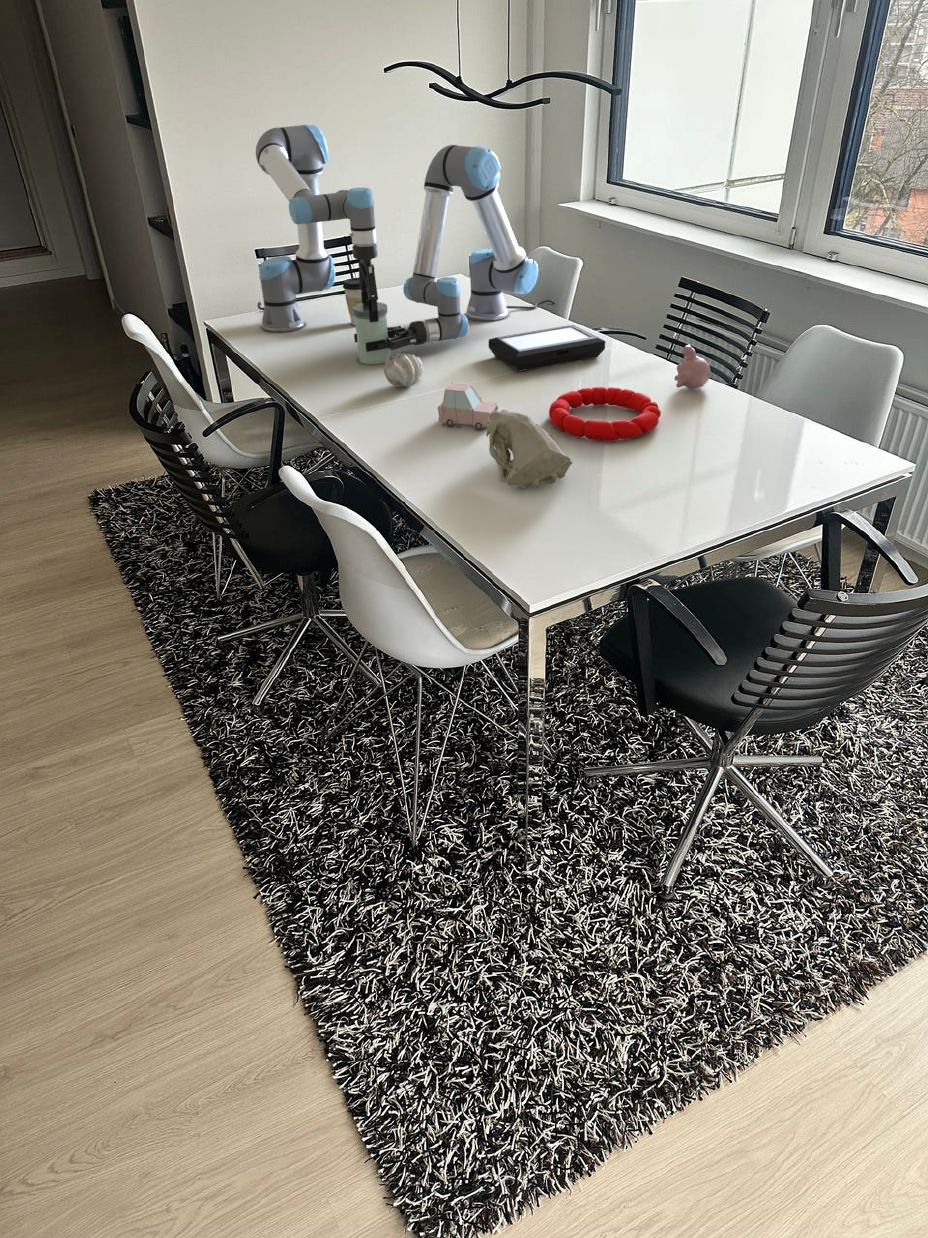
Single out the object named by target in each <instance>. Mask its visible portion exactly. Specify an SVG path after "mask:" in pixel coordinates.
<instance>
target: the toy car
mask: <svg viewBox="0 0 928 1238" xmlns="http://www.w3.org/2000/svg"><path fill="white" fill-rule="evenodd" d="M498 409H499V404H498V403H497V402H490V401H489V402H487V401H483V397H481V396H480V395H479V394H478V393H477V391H476V390H475V389H474V386H472V384H469V383H459V382H451V383H450V384H449V385H448V386H447V387H446V388H445V389H444V394H443V399H442V403H440V404H439V405H438V406H437V413H438V421H439V422H443V423H446V425H447V426H448V427H452V426H454V425H455V424H461V425H469V426H473V427H475V429H476V430H479V431H480V430H481V429H483V428H485V427H486V428H487V423H488V422H490V414H491V413H492V412H496V411H499V410H498Z"/></svg>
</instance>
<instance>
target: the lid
mask: <svg viewBox="0 0 928 1238" xmlns="http://www.w3.org/2000/svg"><path fill="white" fill-rule="evenodd" d="M377 307H378V316H382V315H385V314H386V315H387V313H388V305H387V303H384V302H380V301H379V302H378V301H377ZM353 314H354V315H355V316H358V317H365V318H369V307H368V302H366V303H360V304H357V305H355V306H353Z"/></svg>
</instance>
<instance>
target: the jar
mask: <svg viewBox="0 0 928 1238" xmlns="http://www.w3.org/2000/svg"><path fill="white" fill-rule="evenodd" d="M387 319H388V317H387V313H386V314H385V315H382V316H378V320H379V321H378V322H370V318H365V317H358V316H355V322H356V325H355V331H356V332H355V334H357V343H356V344H357V351H358V361H359V362H360V363H361V364H365V365H378V364H379V365H380V364H383V363H384V364H385V363H386V361H387V359H388V358H389V357H390V349H387V348H386V349H381V350H375V351H369V352H367V351H366V343H367V342H373V341H379V340H385V342H386V338H388V331H387V327H388V320H387ZM388 339H389V338H388Z"/></svg>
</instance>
